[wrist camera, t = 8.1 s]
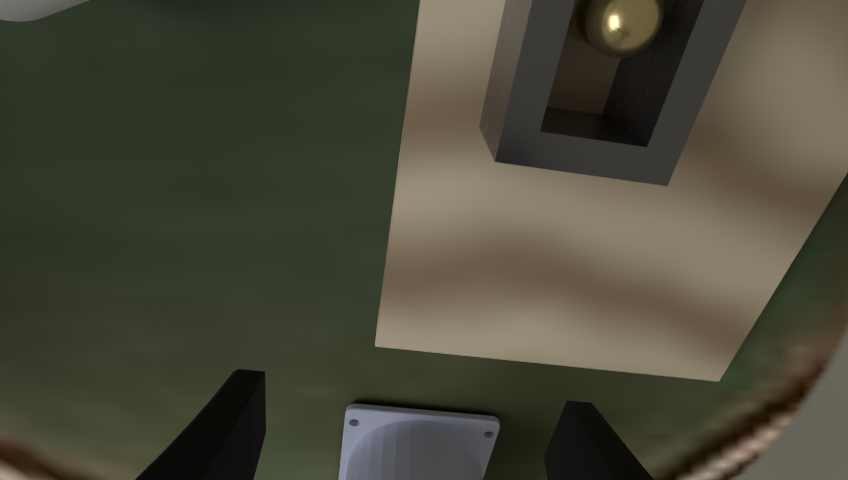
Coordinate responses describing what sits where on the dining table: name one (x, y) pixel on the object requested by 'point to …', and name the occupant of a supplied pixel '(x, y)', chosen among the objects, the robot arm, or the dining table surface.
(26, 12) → the mug
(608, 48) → the brass knob
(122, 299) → the dining table surface
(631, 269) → the birch board
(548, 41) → the dark grey open box
